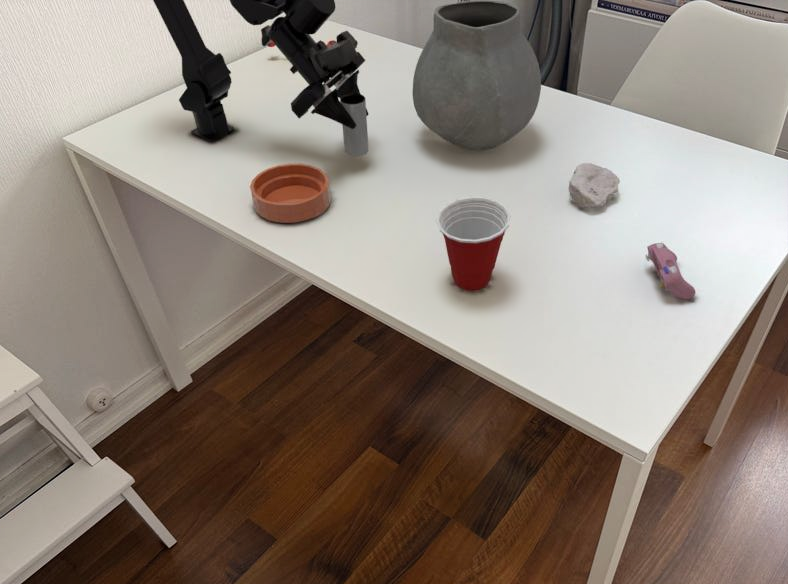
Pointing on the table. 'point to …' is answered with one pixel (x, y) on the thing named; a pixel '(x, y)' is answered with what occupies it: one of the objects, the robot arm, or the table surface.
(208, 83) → the robot arm
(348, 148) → the grey hollow cylinder
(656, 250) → the video game controller
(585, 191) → the pale grey lumpy chunk
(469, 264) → the plastic cup
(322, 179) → the bowl
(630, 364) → the table surface
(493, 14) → the ceramic pot
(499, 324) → the table surface
